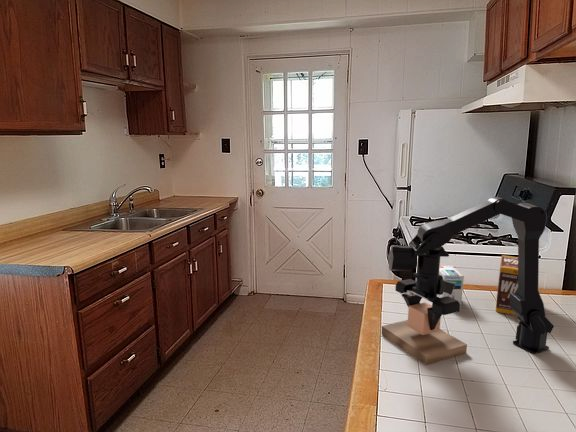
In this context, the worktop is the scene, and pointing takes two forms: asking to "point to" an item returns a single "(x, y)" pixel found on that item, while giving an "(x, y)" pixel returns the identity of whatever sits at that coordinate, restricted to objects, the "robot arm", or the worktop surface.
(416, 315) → the terracotta cube
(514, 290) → the supplement box
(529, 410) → the worktop surface
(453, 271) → the light bulb box
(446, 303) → the robot arm
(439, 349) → the walnut block
